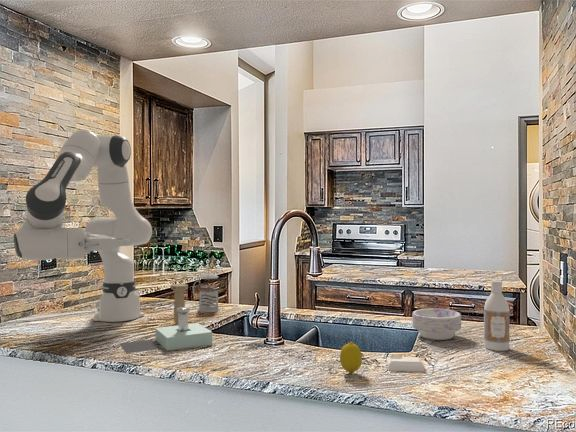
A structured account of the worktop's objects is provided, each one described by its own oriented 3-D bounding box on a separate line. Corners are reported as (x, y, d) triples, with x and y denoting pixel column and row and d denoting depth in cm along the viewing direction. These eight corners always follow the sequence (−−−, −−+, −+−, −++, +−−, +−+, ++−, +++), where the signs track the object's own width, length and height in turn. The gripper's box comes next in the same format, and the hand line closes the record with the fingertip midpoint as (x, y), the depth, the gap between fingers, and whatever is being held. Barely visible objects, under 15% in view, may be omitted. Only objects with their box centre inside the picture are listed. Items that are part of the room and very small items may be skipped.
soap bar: (424, 373, 125) (424, 362, 125) (388, 371, 126) (388, 361, 126) (421, 366, 130) (421, 356, 130) (386, 365, 131) (386, 356, 131)
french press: (218, 312, 201) (218, 250, 201) (190, 312, 201) (190, 251, 201) (222, 307, 211) (222, 249, 211) (195, 307, 211) (194, 249, 211)
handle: (181, 329, 171) (181, 286, 171) (168, 327, 175) (167, 285, 174) (191, 326, 175) (190, 284, 175) (177, 324, 179) (177, 283, 179)
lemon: (338, 370, 126) (337, 339, 126) (359, 369, 127) (359, 338, 127) (342, 377, 121) (342, 345, 121) (364, 377, 121) (364, 344, 121)
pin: (175, 342, 155) (175, 307, 155) (187, 340, 157) (187, 306, 157) (179, 345, 151) (178, 310, 151) (191, 343, 153) (191, 308, 153)
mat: (119, 344, 152) (119, 343, 152) (151, 340, 157) (151, 339, 157) (126, 354, 142) (126, 353, 142) (161, 349, 147) (161, 348, 147)
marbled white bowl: (403, 337, 159) (403, 312, 159) (425, 329, 170) (425, 306, 170) (448, 345, 149) (448, 319, 149) (469, 336, 160) (469, 312, 160)
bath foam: (485, 350, 144) (485, 282, 143) (483, 344, 150) (483, 279, 150) (511, 352, 142) (510, 283, 141) (507, 346, 148) (507, 279, 148)
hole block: (155, 340, 157) (155, 328, 157) (197, 334, 164) (197, 322, 164) (167, 351, 145) (167, 337, 145) (212, 344, 151) (212, 331, 151)
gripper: (81, 233, 135) (133, 232, 141) (73, 231, 153) (120, 230, 159) (81, 256, 135) (133, 254, 141) (74, 251, 153) (120, 249, 159)
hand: (126, 241), depth 150 cm, fingers open, 8 cm apart
